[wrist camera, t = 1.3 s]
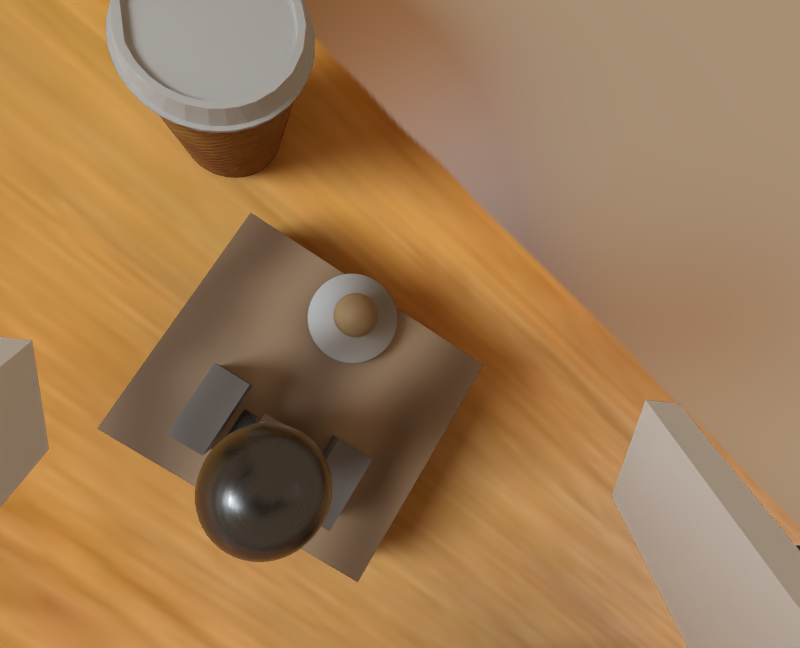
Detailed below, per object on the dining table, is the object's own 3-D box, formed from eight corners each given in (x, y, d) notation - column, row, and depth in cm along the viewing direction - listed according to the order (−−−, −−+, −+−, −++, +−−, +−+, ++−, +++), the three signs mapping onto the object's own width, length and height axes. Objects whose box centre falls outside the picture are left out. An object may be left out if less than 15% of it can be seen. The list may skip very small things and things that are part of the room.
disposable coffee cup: (331, 164, 40) (352, 70, 28) (200, 226, 37) (162, 152, 26) (262, 40, 40) (254, -106, 28) (127, 95, 37) (57, -38, 26)
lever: (216, 452, 31) (141, 526, 14) (257, 390, 32) (231, 392, 15) (288, 495, 31) (295, 614, 15) (327, 433, 32) (375, 480, 16)
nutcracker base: (122, 422, 35) (76, 433, 27) (259, 229, 38) (253, 186, 30) (347, 556, 37) (365, 602, 29) (462, 361, 40) (507, 354, 32)
